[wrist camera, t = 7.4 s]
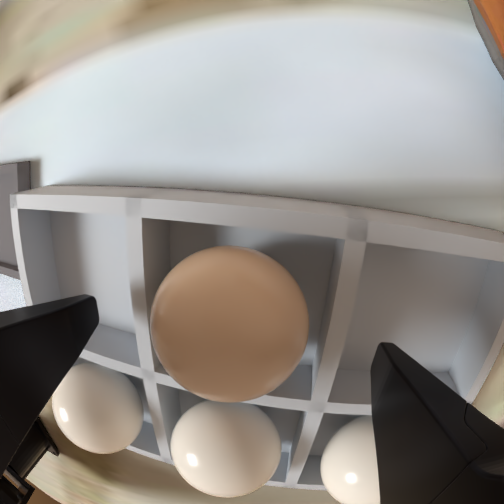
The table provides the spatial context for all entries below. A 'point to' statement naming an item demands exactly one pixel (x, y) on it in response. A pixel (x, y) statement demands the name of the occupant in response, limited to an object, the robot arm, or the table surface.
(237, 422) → the white egg
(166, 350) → the brown egg
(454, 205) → the table surface
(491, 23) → the pie
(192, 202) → the egg tray
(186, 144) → the table surface
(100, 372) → the white egg
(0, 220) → the egg dish
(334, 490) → the white egg
